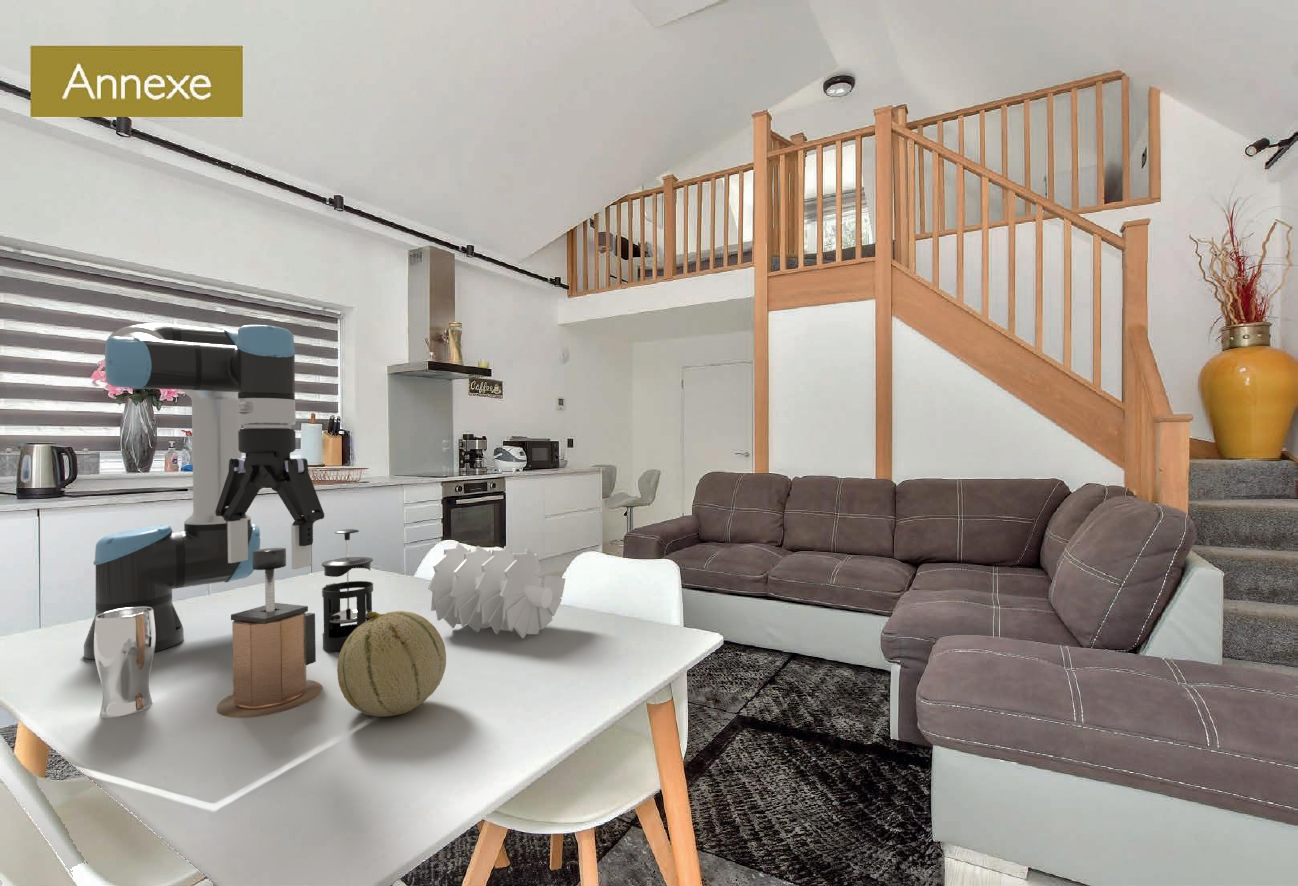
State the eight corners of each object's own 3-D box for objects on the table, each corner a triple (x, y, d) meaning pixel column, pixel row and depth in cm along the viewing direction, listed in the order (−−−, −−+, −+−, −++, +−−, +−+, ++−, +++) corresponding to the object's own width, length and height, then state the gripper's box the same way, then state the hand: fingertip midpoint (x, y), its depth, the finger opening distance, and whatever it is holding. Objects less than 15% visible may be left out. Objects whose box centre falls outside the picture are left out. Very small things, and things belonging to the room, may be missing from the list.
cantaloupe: (457, 717, 87) (455, 613, 87) (343, 746, 79) (341, 631, 79) (433, 684, 100) (432, 592, 100) (333, 705, 92) (331, 606, 92)
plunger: (238, 689, 92) (236, 552, 92) (275, 675, 98) (273, 546, 98) (267, 694, 90) (265, 554, 90) (302, 679, 96) (300, 547, 96)
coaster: (193, 713, 90) (193, 709, 90) (279, 678, 103) (279, 675, 103) (261, 727, 85) (261, 723, 85) (343, 689, 98) (343, 685, 98)
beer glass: (105, 728, 86) (103, 621, 86) (87, 716, 89) (86, 614, 89) (164, 709, 92) (163, 609, 92) (145, 699, 95) (144, 603, 95)
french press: (387, 645, 120) (385, 528, 120) (341, 660, 112) (339, 534, 112) (352, 635, 126) (351, 524, 126) (306, 649, 118) (305, 530, 118)
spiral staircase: (532, 663, 120) (434, 642, 129) (575, 605, 134) (483, 589, 144) (510, 589, 112) (407, 573, 122) (558, 535, 126) (462, 524, 136)
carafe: (220, 705, 91) (219, 616, 91) (292, 676, 103) (291, 596, 103) (265, 713, 88) (263, 621, 88) (333, 682, 99) (332, 600, 99)
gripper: (187, 427, 95) (189, 563, 95) (306, 425, 86) (308, 575, 86) (234, 428, 102) (236, 554, 102) (348, 426, 93) (350, 564, 93)
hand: (269, 564), depth 94 cm, fingers open, 13 cm apart
